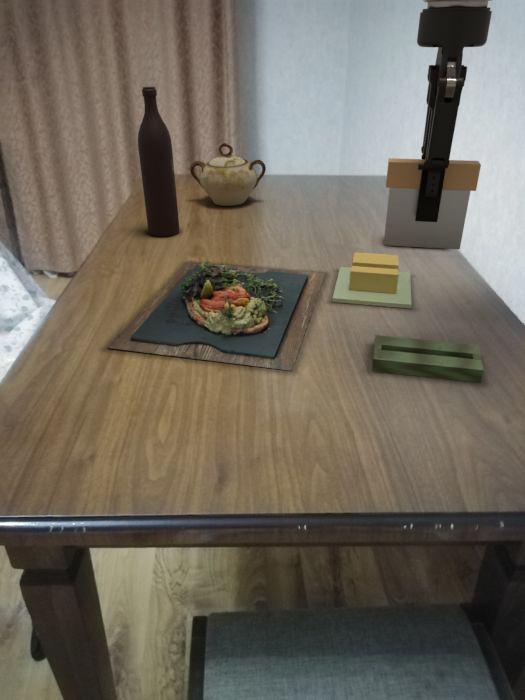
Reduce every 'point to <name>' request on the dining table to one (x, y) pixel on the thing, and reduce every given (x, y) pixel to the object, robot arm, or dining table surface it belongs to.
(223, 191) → the sugar bowl
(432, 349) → the scraper stand
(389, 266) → the butter
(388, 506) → the dining table surface
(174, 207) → the wine bottle
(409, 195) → the bench scraper
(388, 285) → the butter slice
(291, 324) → the plated dish
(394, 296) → the butter dish
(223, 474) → the dining table surface
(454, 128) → the robot arm
